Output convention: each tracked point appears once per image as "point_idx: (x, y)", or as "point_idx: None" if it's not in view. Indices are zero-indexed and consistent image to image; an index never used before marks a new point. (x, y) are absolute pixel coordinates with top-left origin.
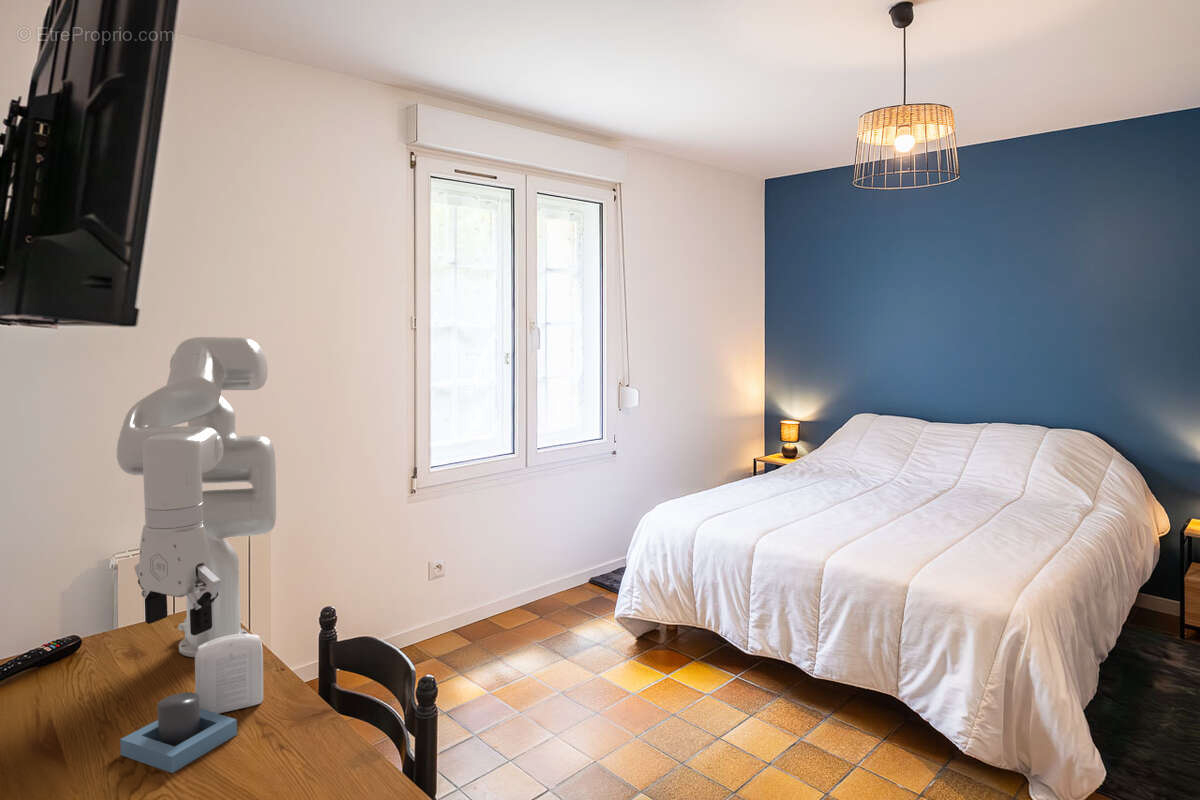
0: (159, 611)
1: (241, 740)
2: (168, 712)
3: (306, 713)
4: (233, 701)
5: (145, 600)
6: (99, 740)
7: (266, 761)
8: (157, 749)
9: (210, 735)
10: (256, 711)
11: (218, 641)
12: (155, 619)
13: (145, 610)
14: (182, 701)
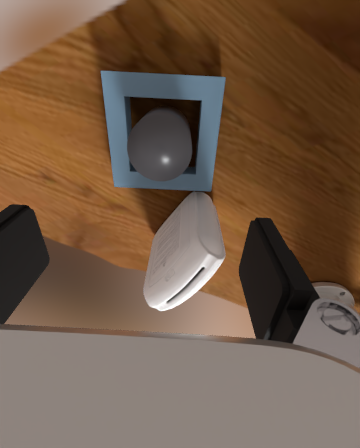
0: (249, 270)
1: (103, 170)
2: (145, 117)
3: (91, 238)
4: (168, 221)
5: (303, 283)
6: (287, 95)
7: (30, 146)
8: (140, 77)
9: (109, 144)
10: (145, 223)
11: (185, 277)
12: (248, 241)
13: (286, 247)
14: (151, 152)
